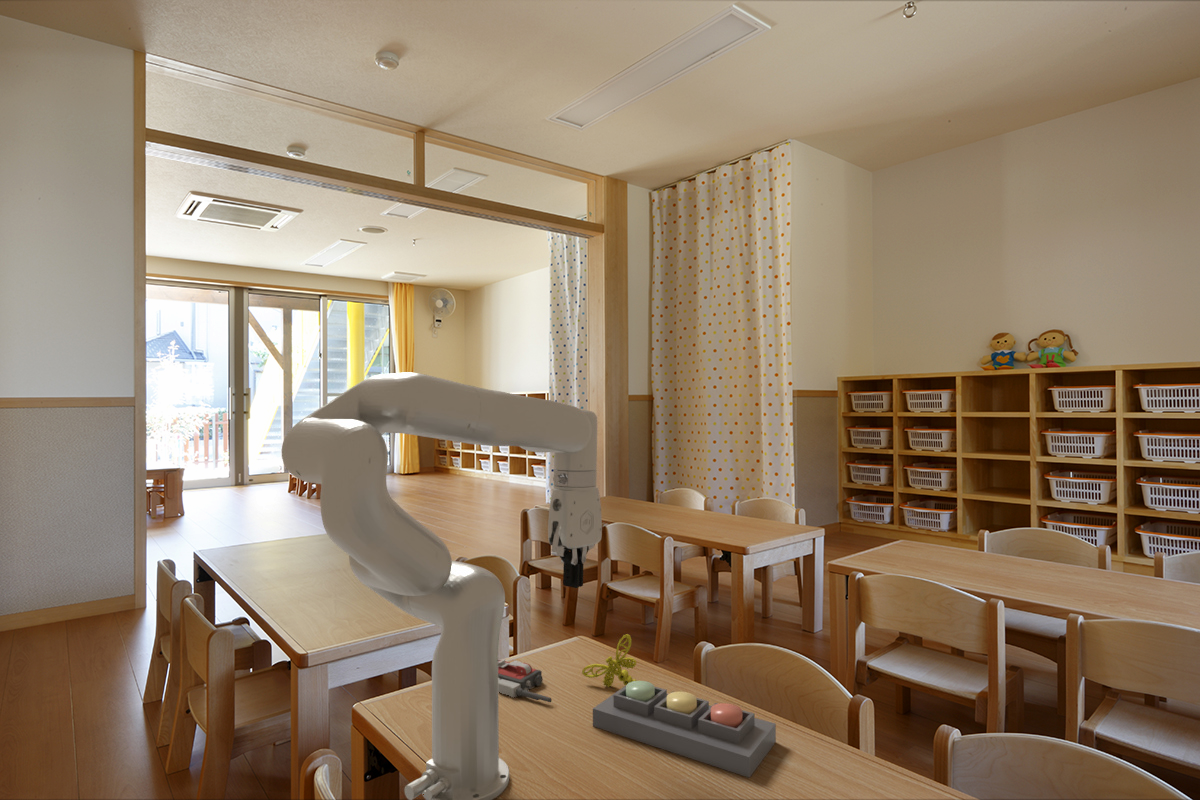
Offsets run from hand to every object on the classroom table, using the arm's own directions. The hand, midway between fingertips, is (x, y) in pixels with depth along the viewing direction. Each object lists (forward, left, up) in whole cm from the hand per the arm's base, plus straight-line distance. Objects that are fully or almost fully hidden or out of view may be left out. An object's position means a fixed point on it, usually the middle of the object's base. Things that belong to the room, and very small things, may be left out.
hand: (573, 585), depth 110 cm
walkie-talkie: (+6, +17, -25) cm, 31 cm away
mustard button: (+7, -17, -20) cm, 28 cm away
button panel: (+7, -17, -24) cm, 30 cm away
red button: (+7, -25, -20) cm, 33 cm away
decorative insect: (+17, +2, -24) cm, 29 cm away
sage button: (+7, -9, -20) cm, 23 cm away
